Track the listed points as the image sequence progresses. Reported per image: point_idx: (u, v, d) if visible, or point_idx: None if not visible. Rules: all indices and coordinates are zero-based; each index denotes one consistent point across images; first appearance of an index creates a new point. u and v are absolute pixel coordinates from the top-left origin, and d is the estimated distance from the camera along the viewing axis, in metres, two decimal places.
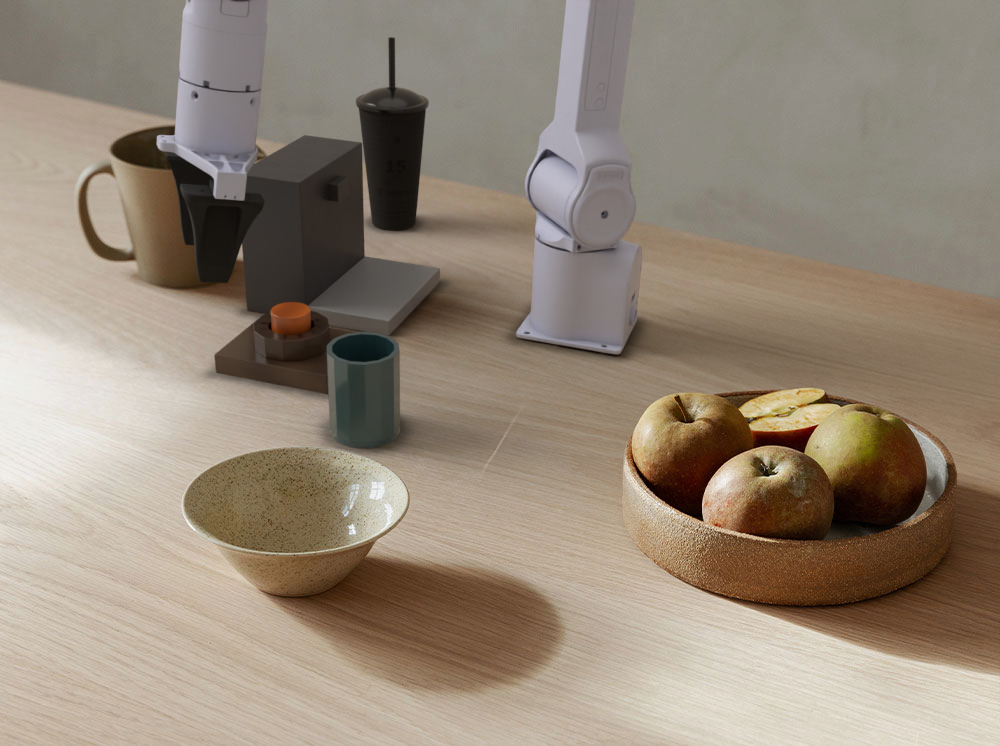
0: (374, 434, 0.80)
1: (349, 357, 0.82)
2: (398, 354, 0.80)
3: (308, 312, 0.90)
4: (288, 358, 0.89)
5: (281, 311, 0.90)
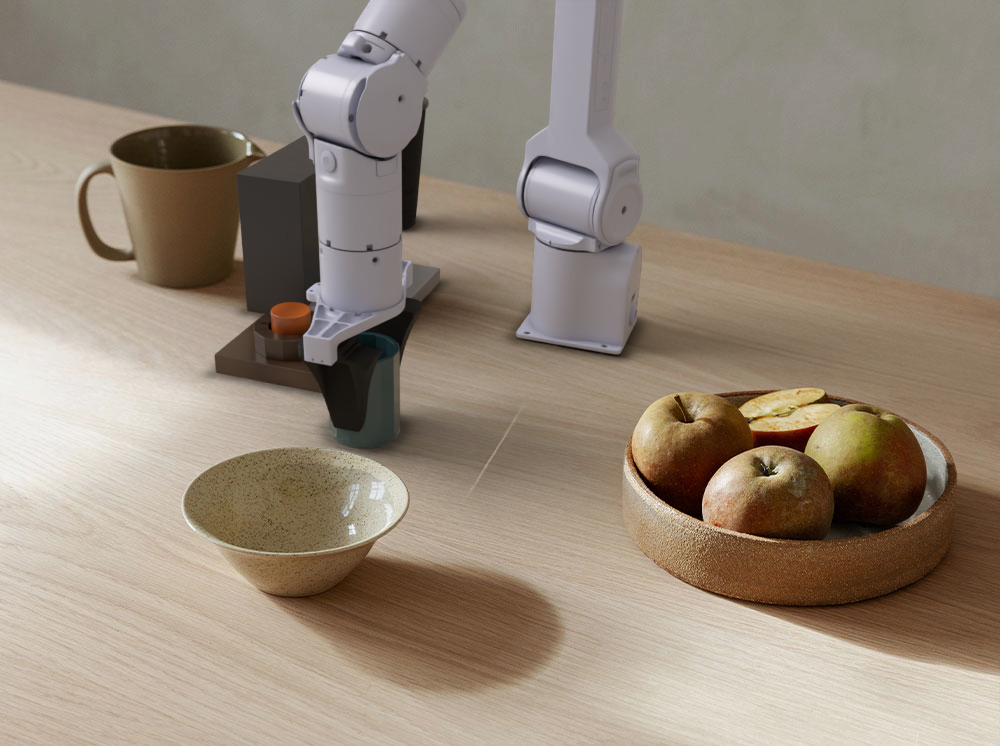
0: (374, 434, 0.80)
1: None
2: (398, 354, 0.80)
3: (308, 312, 0.90)
4: (288, 358, 0.89)
5: (281, 311, 0.90)
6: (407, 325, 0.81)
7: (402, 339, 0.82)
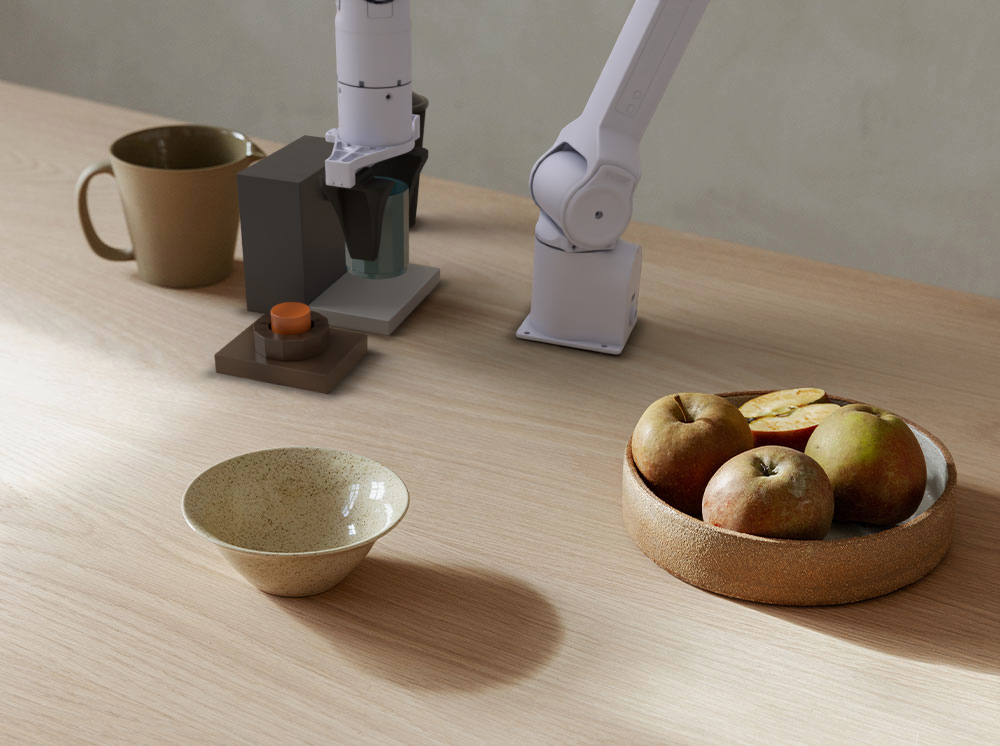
0: (386, 266, 0.89)
1: None
2: (407, 192, 0.88)
3: (308, 312, 0.90)
4: (288, 358, 0.89)
5: (281, 311, 0.90)
6: (416, 168, 0.90)
7: (411, 182, 0.91)
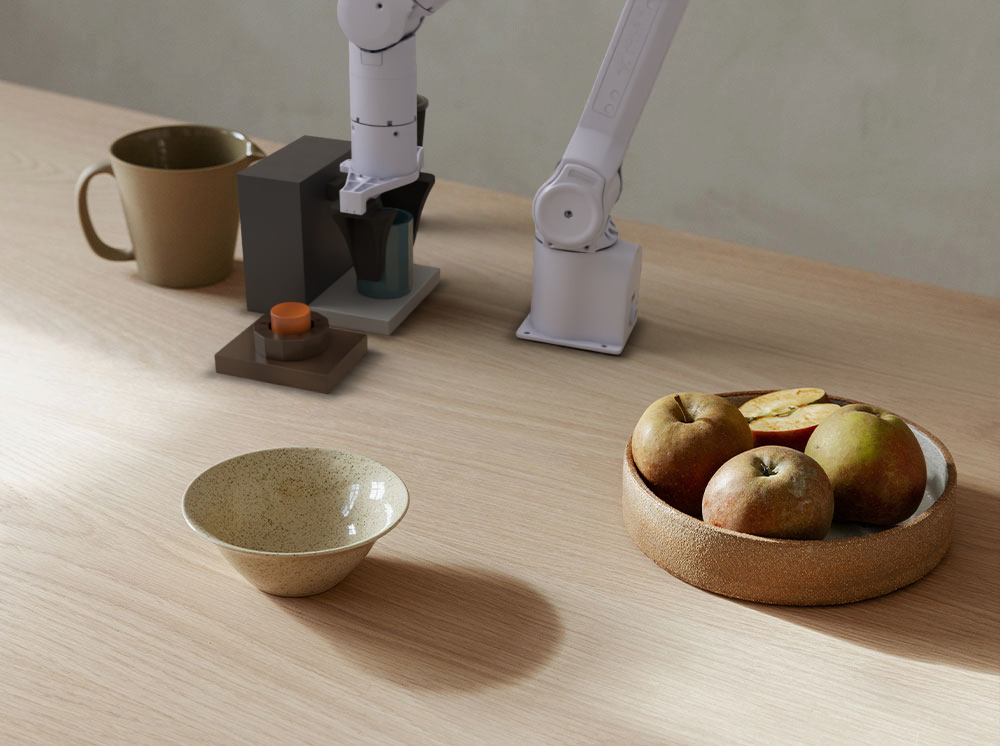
0: (392, 287, 1.00)
1: None
2: (412, 222, 0.99)
3: (308, 312, 0.90)
4: (288, 358, 0.89)
5: (281, 311, 0.90)
6: (424, 192, 1.01)
7: (420, 204, 1.02)
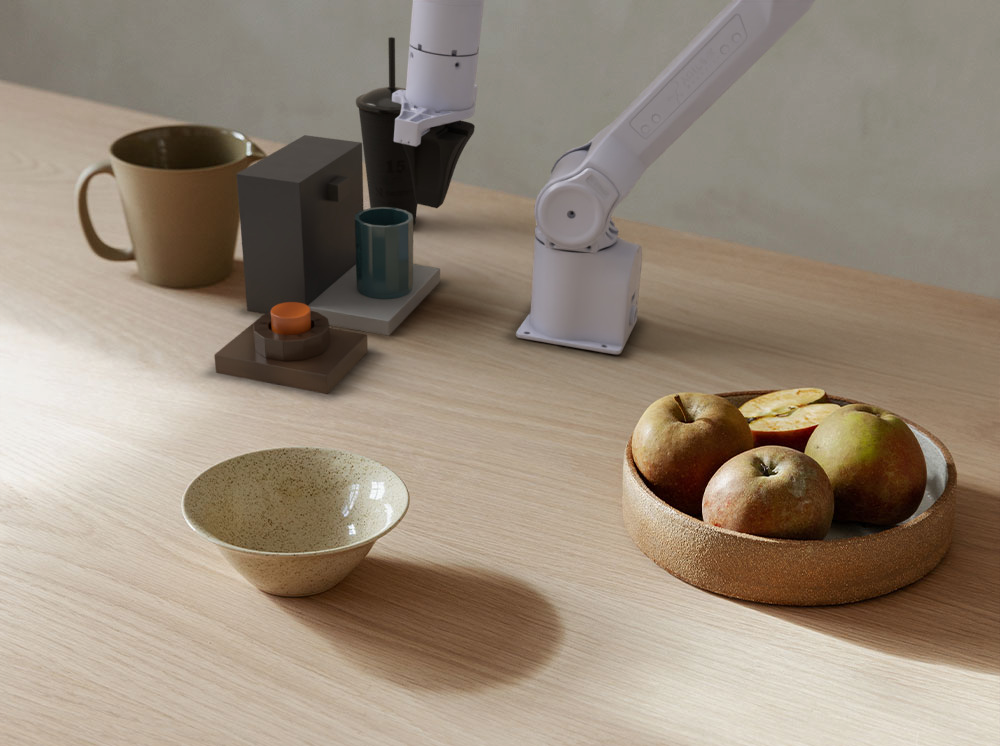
0: (392, 287, 1.00)
1: None
2: (412, 222, 0.99)
3: (308, 312, 0.90)
4: (288, 358, 0.89)
5: (281, 311, 0.90)
6: (462, 142, 0.94)
7: (456, 155, 0.95)
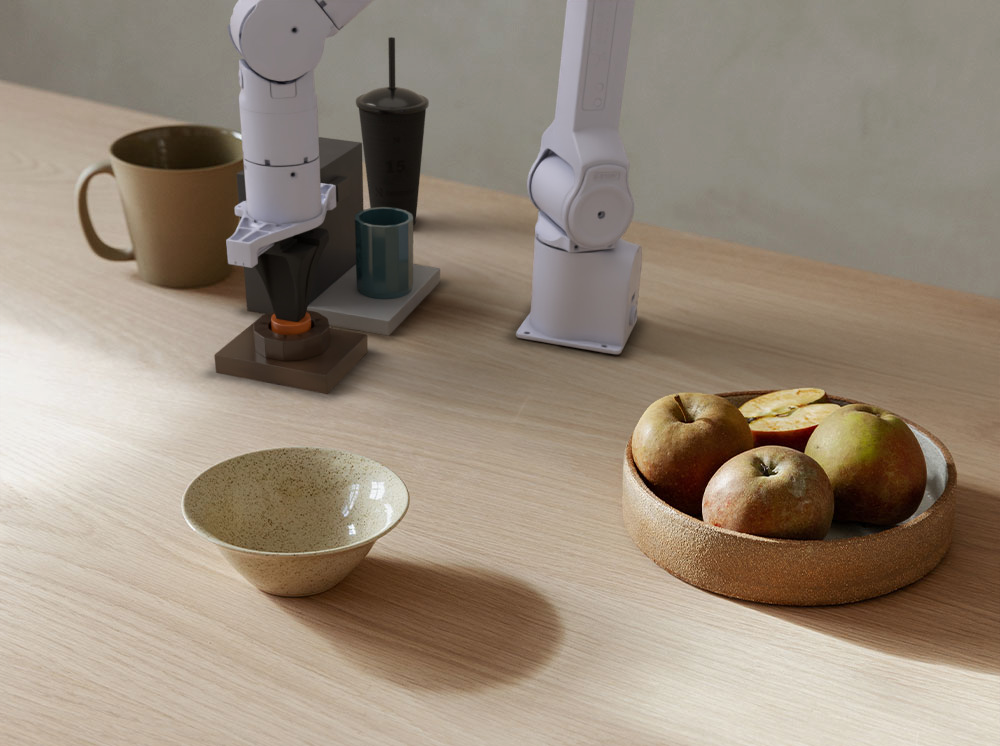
0: (392, 287, 1.00)
1: None
2: (412, 222, 0.99)
3: (308, 319, 0.90)
4: (288, 358, 0.89)
5: None
6: (314, 252, 0.87)
7: (310, 265, 0.88)
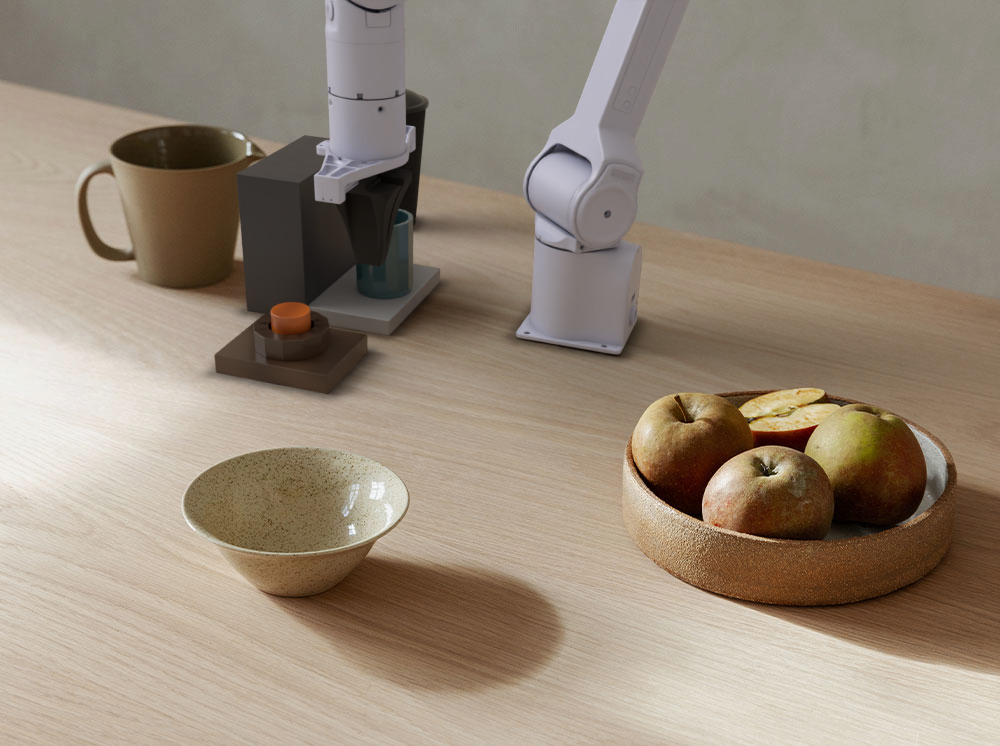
0: (392, 287, 1.00)
1: None
2: (412, 222, 0.99)
3: (308, 312, 0.90)
4: (288, 358, 0.89)
5: (281, 311, 0.90)
6: (398, 192, 0.85)
7: (393, 206, 0.85)
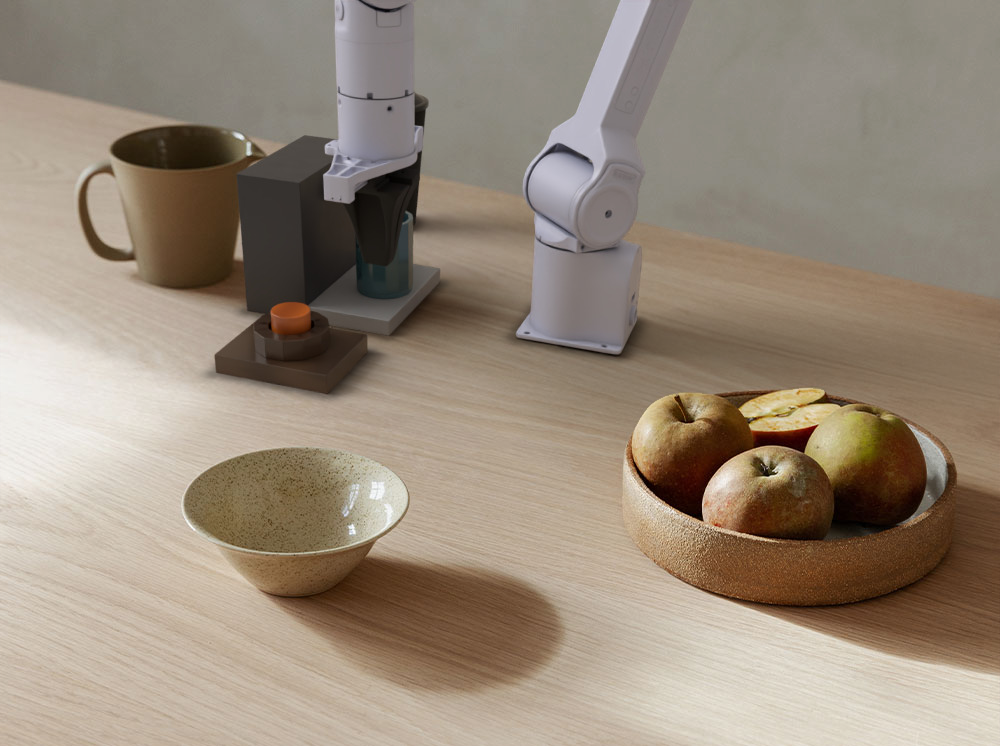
0: (392, 287, 1.00)
1: None
2: (412, 222, 0.99)
3: (308, 312, 0.90)
4: (288, 358, 0.89)
5: (281, 311, 0.90)
6: (406, 192, 0.85)
7: (401, 206, 0.85)
